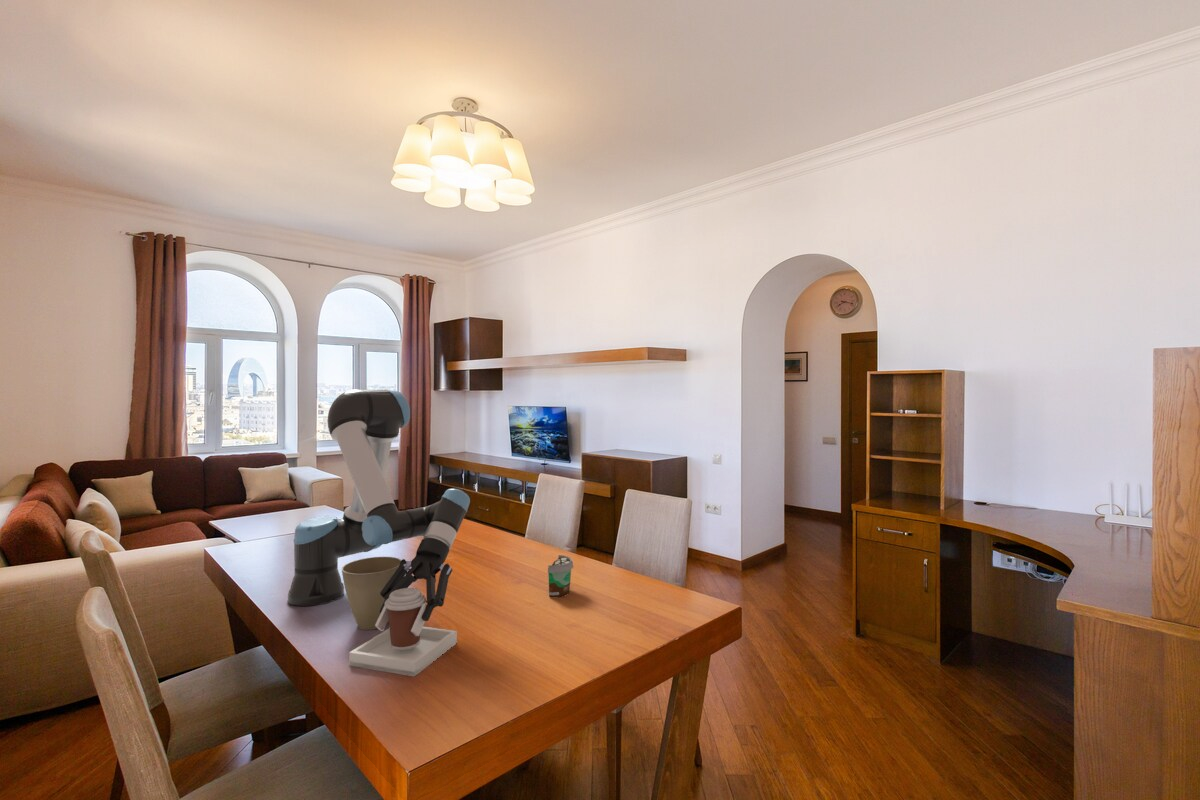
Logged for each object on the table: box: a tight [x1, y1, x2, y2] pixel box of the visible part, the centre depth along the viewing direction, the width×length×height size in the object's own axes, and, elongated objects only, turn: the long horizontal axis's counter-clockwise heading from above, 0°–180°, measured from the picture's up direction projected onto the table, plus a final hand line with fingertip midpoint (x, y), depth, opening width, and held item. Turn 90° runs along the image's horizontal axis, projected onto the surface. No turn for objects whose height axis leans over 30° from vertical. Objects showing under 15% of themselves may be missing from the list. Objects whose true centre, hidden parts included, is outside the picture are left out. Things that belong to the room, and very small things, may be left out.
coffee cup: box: [385, 587, 427, 650], centre depth 130 cm, size 9×9×12 cm
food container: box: [547, 554, 574, 598], centre depth 171 cm, size 12×6×10 cm, turn 168°
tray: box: [348, 625, 458, 677], centre depth 130 cm, size 17×17×3 cm
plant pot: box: [341, 556, 402, 631], centre depth 147 cm, size 15×15×16 cm
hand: (396, 630), depth 127 cm, fingers closed on coffee cup, 9 cm apart
